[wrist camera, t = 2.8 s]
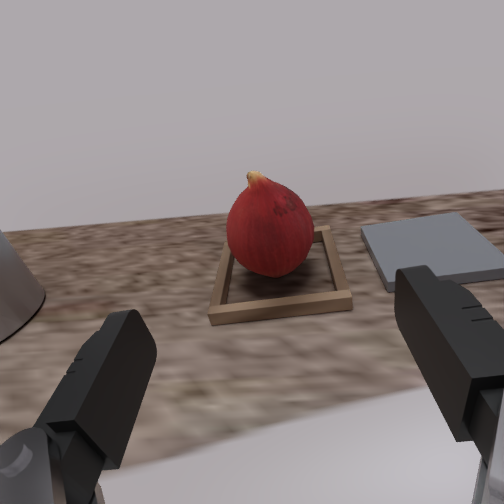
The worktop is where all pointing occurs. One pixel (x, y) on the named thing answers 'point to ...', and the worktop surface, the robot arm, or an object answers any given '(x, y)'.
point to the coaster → (433, 249)
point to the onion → (269, 228)
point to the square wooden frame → (286, 305)
